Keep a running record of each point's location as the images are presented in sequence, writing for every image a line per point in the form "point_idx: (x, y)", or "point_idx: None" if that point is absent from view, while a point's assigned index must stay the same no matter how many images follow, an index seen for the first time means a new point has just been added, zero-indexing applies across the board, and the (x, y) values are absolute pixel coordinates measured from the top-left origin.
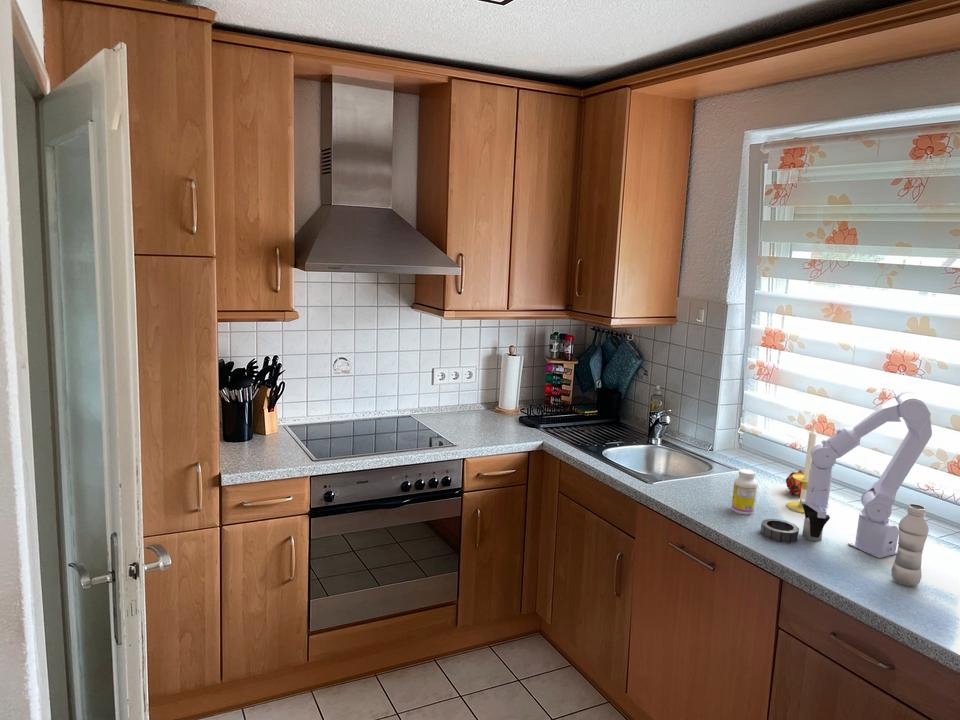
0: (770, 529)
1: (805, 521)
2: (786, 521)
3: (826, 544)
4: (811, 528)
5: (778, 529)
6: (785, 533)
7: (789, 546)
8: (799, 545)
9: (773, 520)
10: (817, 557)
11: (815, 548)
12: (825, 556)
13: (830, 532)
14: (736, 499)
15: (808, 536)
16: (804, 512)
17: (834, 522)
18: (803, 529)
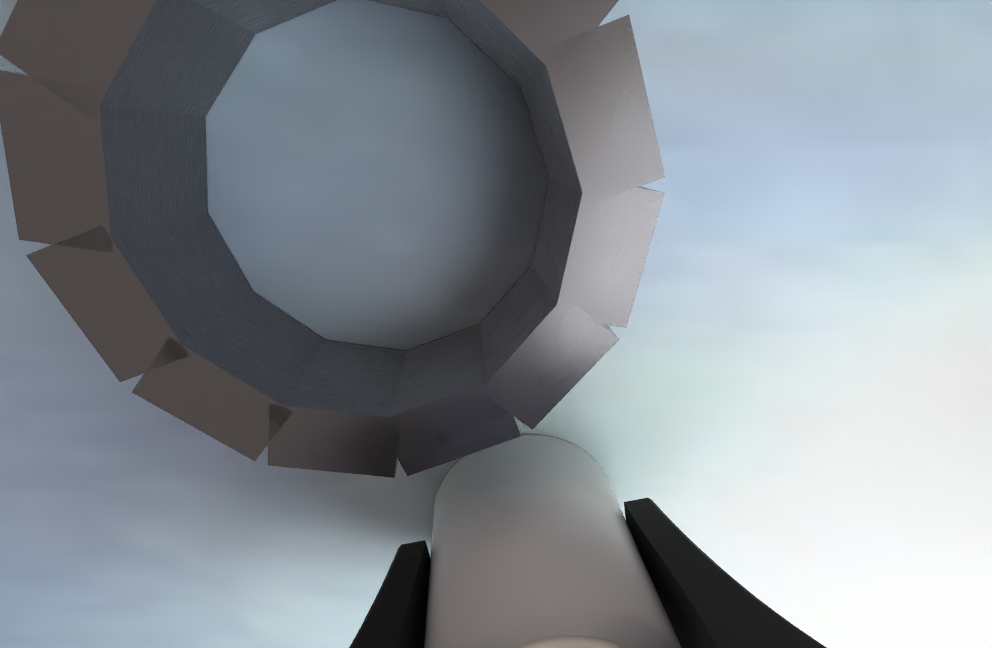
0: (10, 28)
1: (491, 613)
2: (611, 309)
3: None
4: (354, 644)
5: (554, 186)
6: (78, 303)
7: None
8: None
9: (557, 86)
10: (23, 564)
11: (252, 544)
12: (112, 614)
13: None
14: None
15: (437, 512)
16: (798, 637)
17: (975, 640)
18: (512, 494)
